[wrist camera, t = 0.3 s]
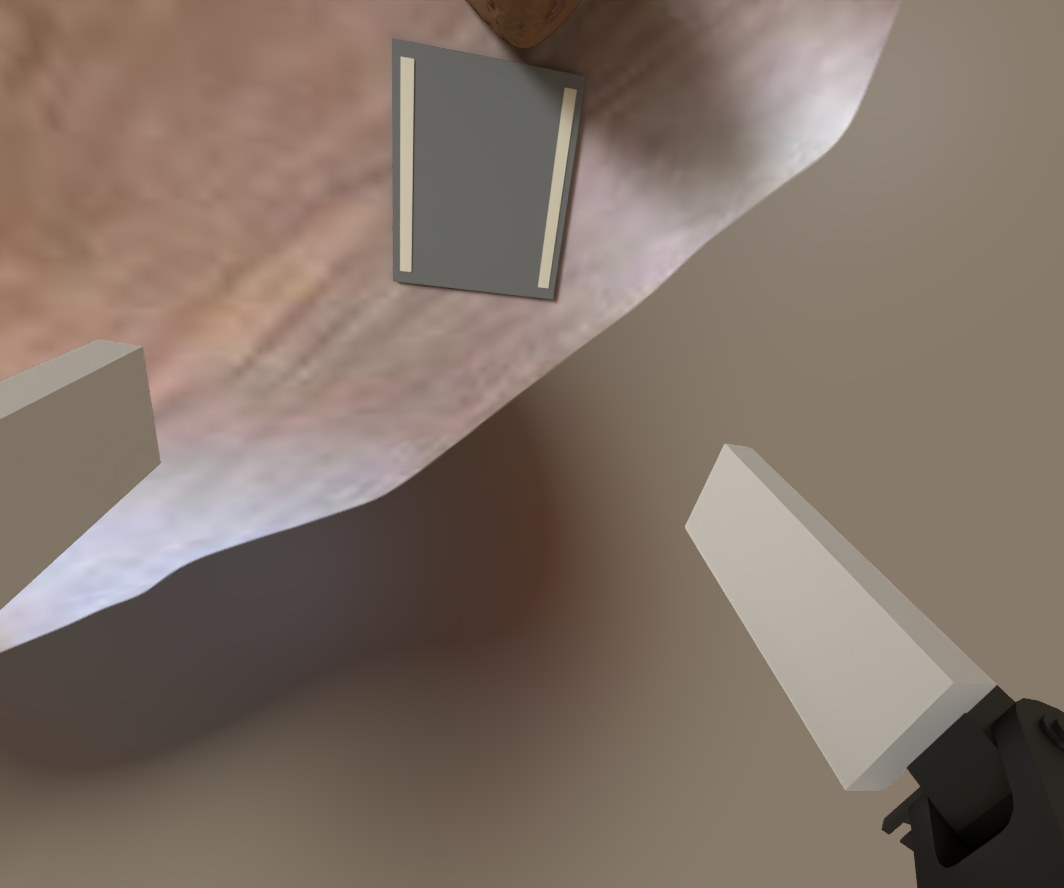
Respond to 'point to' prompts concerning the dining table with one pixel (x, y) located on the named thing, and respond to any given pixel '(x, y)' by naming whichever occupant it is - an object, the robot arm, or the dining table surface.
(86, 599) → the dining table surface
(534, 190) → the mat
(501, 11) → the brown lumpy pitted part
